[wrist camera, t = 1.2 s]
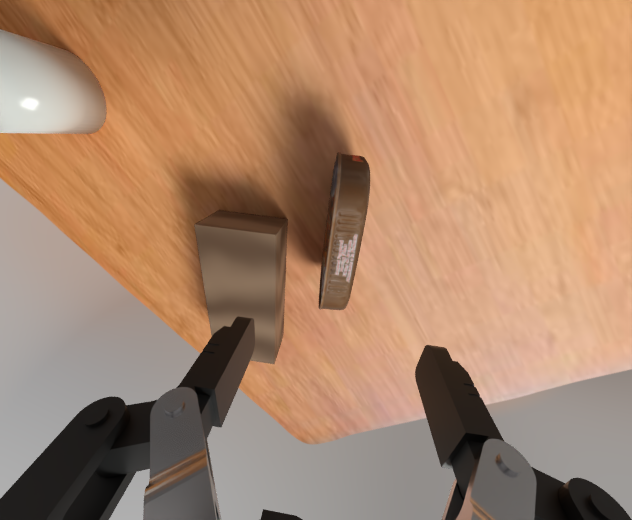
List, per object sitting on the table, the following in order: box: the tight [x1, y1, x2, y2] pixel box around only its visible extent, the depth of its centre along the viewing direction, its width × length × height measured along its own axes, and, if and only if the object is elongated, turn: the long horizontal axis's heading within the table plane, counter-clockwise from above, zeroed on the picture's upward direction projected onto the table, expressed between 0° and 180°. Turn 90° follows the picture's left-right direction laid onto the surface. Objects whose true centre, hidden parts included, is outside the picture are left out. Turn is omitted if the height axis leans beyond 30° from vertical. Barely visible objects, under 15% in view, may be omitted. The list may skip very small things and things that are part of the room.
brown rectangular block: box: [194, 211, 288, 364], centre depth 29 cm, size 18×8×5 cm, turn 175°
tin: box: [319, 152, 370, 310], centre depth 23 cm, size 15×3×8 cm, turn 174°
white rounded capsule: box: [0, 29, 106, 134], centre depth 20 cm, size 7×7×7 cm
